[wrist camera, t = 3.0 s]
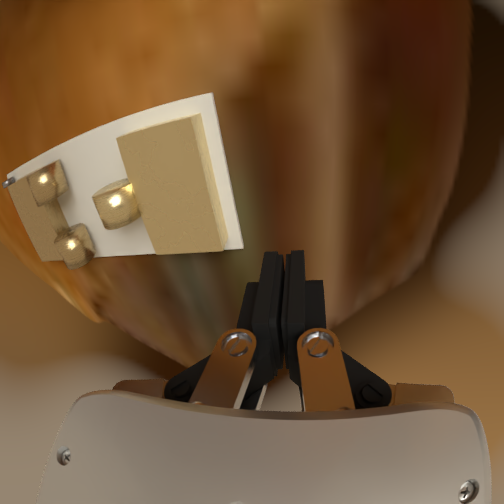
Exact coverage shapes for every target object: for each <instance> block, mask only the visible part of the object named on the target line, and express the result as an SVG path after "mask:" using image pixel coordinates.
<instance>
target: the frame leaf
mask: <svg viewBox="0 0 504 504" xmlns="http://www.w3.org/2000/svg"><path fill="white" fill-rule="evenodd" d="M68 189H69V186H68V183H67V181H66V178H65V175H64V172H63V169H62V166H61V163H60V160H59V159H58V160H55V161H53V162H51V163H49V164H47V165H45V166H43V167H41V168H39V169H37V170H35V171H33V172H31V173H29V174H27V175H25V176H23V177H21V178H20V179H18V180H16V181H15V182H14V183H12V184H11V185H9V186H8V190H9V192H10V195H11V198H12V200H13V202H14V205H15V207H16V210H17V212H18V214H19V216H20V219H21V221H22V223H23V225H24V227H25V229H26V231H27V233H28V236H29V238H30V239H31V241H32V243H33V245H34V247H35V249H36V251H37V253H38V255H39V257H40V258H41V260H42V261H58V260H64V262H65V264H66V266H67V268H68V269H71V270H72V269H77V268H79V267H82V266H83V265H85V264H86V263H88V262H89V261H90V260H91V259H92V258H93V257H94V256H95V254H96V249H95V246H94V244H93V242H92V240H91V238H90V236H89V234H88V232H87V229H86V227H85V225H84V224H83V223H78V224H75V225H73V226H71V227H69V225H68V223H67V221H66V218H65V216H64V214H63V212H62V209H61V207H60V204H59V202H58V200H57V198H58V197H59V196H61V195H62V194H64V193H65V192H66V191H68Z"/></svg>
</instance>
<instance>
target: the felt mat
mask: <svg viewBox="0 0 504 504" xmlns="http://www.w3.org/2000/svg"><path fill="white" fill-rule="evenodd" d="M197 113H201V116H202V121H203V126H204V130H205V135H206V140H207V144H208V149H209V153H210V158H211V162H212V167H213V171H214V176H215V180H216V185H217V189H218V194H219V198H220V202H221V207H222V211H223V215H224V220H225V224H226V228H227V232H228V239H227V242H226V245H225V248H224V250H228V249H243V248H244V244H243V240H242V235H241V230H240V225H239V220H238V215H237V211H236V206H235V201H234V196H233V191H232V186H231V181H230V176H229V171H228V166H227V161H226V156H225V151H224V147H223V142H222V137H221V132H220V127H219V121H218V116H217V111H216V106H215V101H214V96H213V93H208V94H203V95H199V96H195V97H190V98H186V99H182V100H178V101H175V102H171V103H167V104H164V105H160V106H157V107H154V108H150V109H147V110H144V111H141V112H138V113H135V114H132V115H129V116H126V117H124V118H121V119H118V120H115V121H113V122H110V123H108V124H105V125H103V126H100V127H98V128H95V129H93V130H90V131H88V132H86V133H84V134H81V135H79V136H77V137H75V138H73V139H70V140H68V141H66V142H64V143H62V144H60V145H58V146H56V147H54V148H52V149H50V150H48V151H46V152H45V153H43V154H41V155H39V156H37V157H35V158H34V159H32V160H30V161H28V162H27V163H25V164H23V165H22V166H20V167H18V168H17V169H15V170H14V171H12V172H10V173H9V174H7V178H8V179H9V178H11V177H12V176H13V178H14V180H15V181H16V180H18V179H20V178H21V177H23V176H25V175H27V174H29V173H31V172H33V171H35V170H37V169H39V168H41V167H43V166H45V165H47V164H49V163H51V162H53V161H55V160H58V159H59V160H60V163H61V166H62V169H63V172H64V175H65V178H66V181H67V183H68V186H69V189H68V191H66V192H65V193H64V194H62V195H61V196H59V197H58V198H57V200H58V202H59V204H60V207H61V209H62V212H63V214H64V216H65V218H66V221H67V223H68V225H69V227H71V226H73V225H75V224H78V223H83V224H84V225H85V227H86V229H87V232H88V234H89V236H90V238H91V240H92V242H93V244H94V246H95V249H96V254H95V256H94V257H108V256H124V255H141V254H156V253H155V250H154V248H153V246H152V243H151V240H150V238H149V235H148V233H147V230H146V228H145V225H144V222H143V220H142V217H139V218H138V219H137V220H135V221H134V222H132V223H130V224H128V225H126V226H124V227H121V228H118V229H114V230H107V229H105V228H104V226H103V224H102V221H101V219H100V217H99V214H98V212H97V209H96V207H95V204H94V202H93V199H92V196H93V194H94V193H96V192H97V191H98V190H100V189H101V188H103V187H105V186H107V185H109V184H111V183H113V182H115V181H118V180H121V179H125V178H128V177H127V174H126V170H125V167H124V164H123V161H122V158H121V154H120V151H119V148H118V144H117V141H116V138H117V137H119V136H121V135H123V134H126V133H128V132H130V131H133V130H136V129H139V128H143V127H146V126H150V125H153V124H157V123H160V122H164V121H168V120H172V119H176V118H180V117H184V116H188V115H193V114H197Z"/></svg>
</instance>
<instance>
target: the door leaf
mask: <svg viewBox="0 0 504 504" xmlns="http://www.w3.org/2000/svg"><path fill="white" fill-rule="evenodd" d="M116 141H117V144H118V148H119V151H120V154H121V158H122V161H123V164H124V167H125V170H126V174H127V177H128V178H125V179H121V180H118V181H115V182H113V183H111V184H109V185H107V186H105V187H103V188H101V189H100V190H98V191H97V192H96V193H94V194H93V196H92V199H93V202H94V204H95V207H96V209H97V212H98V214H99V217H100V219H101V221H102V224H103V226H104V228H105V229H107V230H114V229H118V228H121V227H124V226H126V225H128V224H130V223H132V222H134V221H135V220H137V219H138V218H139V217H142V220H143V222H144V225H145V228H146V230H147V233H148V235H149V238H150V240H151V243H152V246H153V248H154V250H155V253H156V255H162V254H180V253H198V252H216V251H223V250H224V248H225V245H226V242H227V239H228V232H227V228H226V224H225V220H224V215H223V211H222V207H221V202H220V198H219V194H218V189H217V185H216V180H215V176H214V171H213V167H212V162H211V158H210V153H209V149H208V144H207V140H206V135H205V130H204V126H203V121H202V116H201V113H197V114H193V115H188V116H184V117H180V118H176V119H172V120H168V121H164V122H160V123H157V124H153V125H150V126H146V127H143V128H139V129H136V130H133V131H130V132H128V133H126V134H123V135H121V136H119V137H117V138H116Z"/></svg>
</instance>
